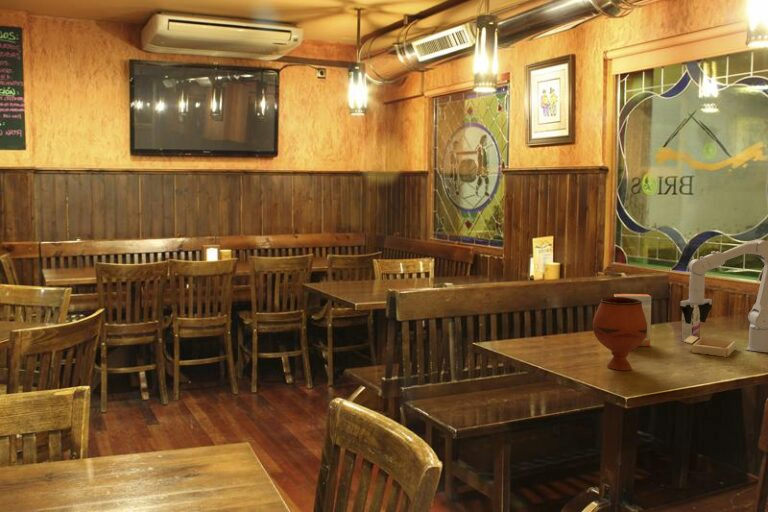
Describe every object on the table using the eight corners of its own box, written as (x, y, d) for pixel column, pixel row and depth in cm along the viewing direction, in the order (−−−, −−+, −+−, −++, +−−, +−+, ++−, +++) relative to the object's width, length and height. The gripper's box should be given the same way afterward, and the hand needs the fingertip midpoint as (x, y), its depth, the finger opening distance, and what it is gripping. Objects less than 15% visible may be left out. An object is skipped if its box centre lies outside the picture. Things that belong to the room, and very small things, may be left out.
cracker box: (646, 343, 318) (648, 293, 315) (650, 346, 312) (652, 296, 309) (612, 342, 319) (613, 293, 317) (615, 346, 313) (616, 295, 311)
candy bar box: (687, 336, 331) (689, 299, 329) (699, 338, 328) (701, 300, 326) (680, 341, 322) (681, 302, 320) (692, 342, 319) (694, 303, 317)
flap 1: (690, 335, 315) (690, 336, 315) (683, 340, 304) (683, 341, 304) (698, 337, 313) (698, 338, 313) (691, 342, 302) (691, 343, 302)
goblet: (604, 358, 292) (606, 293, 289) (654, 366, 280) (657, 299, 277) (582, 368, 277) (584, 300, 274) (634, 377, 265) (637, 306, 262)
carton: (735, 349, 308) (735, 340, 307) (727, 357, 294) (728, 348, 294) (700, 345, 315) (701, 337, 315) (691, 352, 301) (692, 344, 301)
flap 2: (694, 345, 297) (694, 346, 297) (720, 348, 292) (720, 349, 292) (695, 344, 300) (695, 345, 300) (722, 347, 294) (722, 348, 294)
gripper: (690, 291, 300) (689, 325, 302) (718, 289, 306) (716, 323, 307) (677, 289, 307) (675, 322, 308) (704, 287, 312) (703, 320, 314)
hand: (695, 322), depth 308 cm, fingers open, 7 cm apart
